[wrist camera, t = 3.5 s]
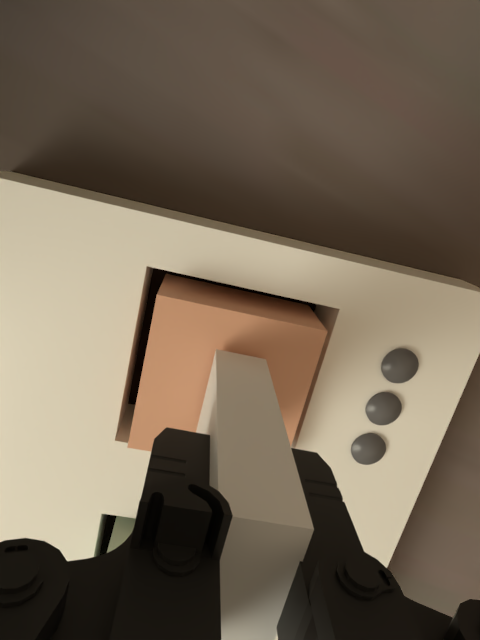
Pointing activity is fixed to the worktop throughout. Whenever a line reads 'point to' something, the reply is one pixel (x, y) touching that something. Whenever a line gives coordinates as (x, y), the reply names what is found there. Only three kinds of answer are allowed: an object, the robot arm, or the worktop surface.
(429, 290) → the panel
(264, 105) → the worktop surface
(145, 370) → the button
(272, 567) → the robot arm
